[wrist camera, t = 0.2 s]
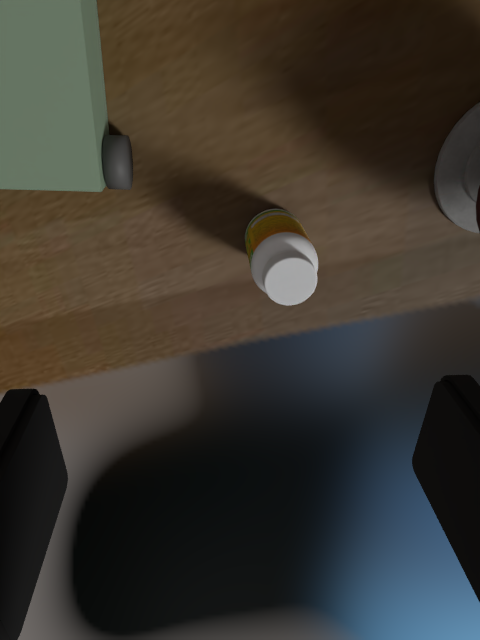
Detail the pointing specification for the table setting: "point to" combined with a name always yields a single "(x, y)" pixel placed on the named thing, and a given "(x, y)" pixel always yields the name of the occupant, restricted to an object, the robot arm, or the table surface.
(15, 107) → the mower deck
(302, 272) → the supplement bottle
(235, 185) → the table surface
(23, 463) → the robot arm
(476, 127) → the dark red goblet
